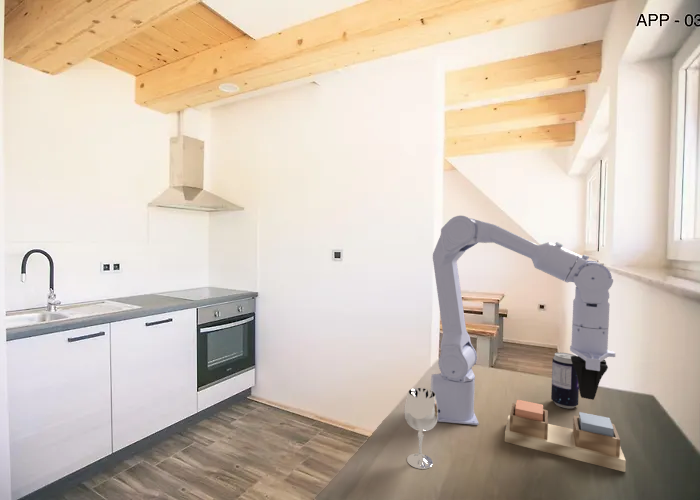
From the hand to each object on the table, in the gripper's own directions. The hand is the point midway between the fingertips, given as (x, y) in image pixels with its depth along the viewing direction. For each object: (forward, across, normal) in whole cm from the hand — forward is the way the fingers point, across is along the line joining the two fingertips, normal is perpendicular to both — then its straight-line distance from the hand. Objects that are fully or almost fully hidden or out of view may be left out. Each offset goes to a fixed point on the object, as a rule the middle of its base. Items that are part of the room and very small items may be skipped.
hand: (587, 397), depth 70 cm
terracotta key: (+7, -1, +10) cm, 12 cm away
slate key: (+6, -1, -1) cm, 7 cm away
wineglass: (+10, -20, +26) cm, 34 cm away
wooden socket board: (+10, -1, +4) cm, 11 cm away
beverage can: (+10, +21, +3) cm, 23 cm away
